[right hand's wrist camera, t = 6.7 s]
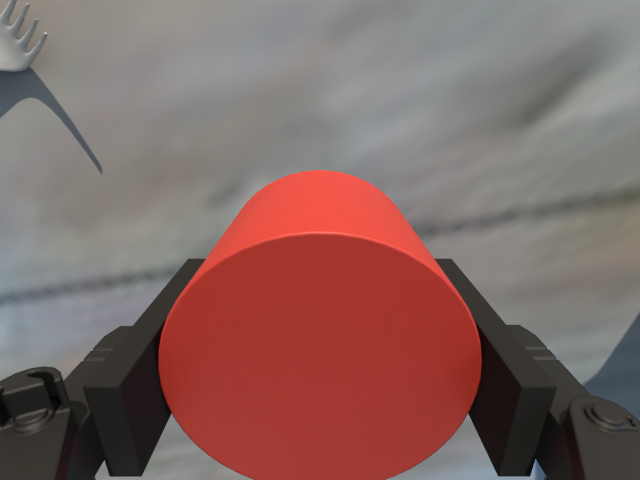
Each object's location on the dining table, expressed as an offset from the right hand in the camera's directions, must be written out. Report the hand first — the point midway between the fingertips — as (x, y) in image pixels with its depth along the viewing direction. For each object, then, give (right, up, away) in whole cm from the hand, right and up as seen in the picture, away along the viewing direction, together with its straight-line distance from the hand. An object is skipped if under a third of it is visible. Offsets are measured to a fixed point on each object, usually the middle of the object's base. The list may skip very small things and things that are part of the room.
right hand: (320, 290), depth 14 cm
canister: (0, +1, +2) cm, 3 cm away
